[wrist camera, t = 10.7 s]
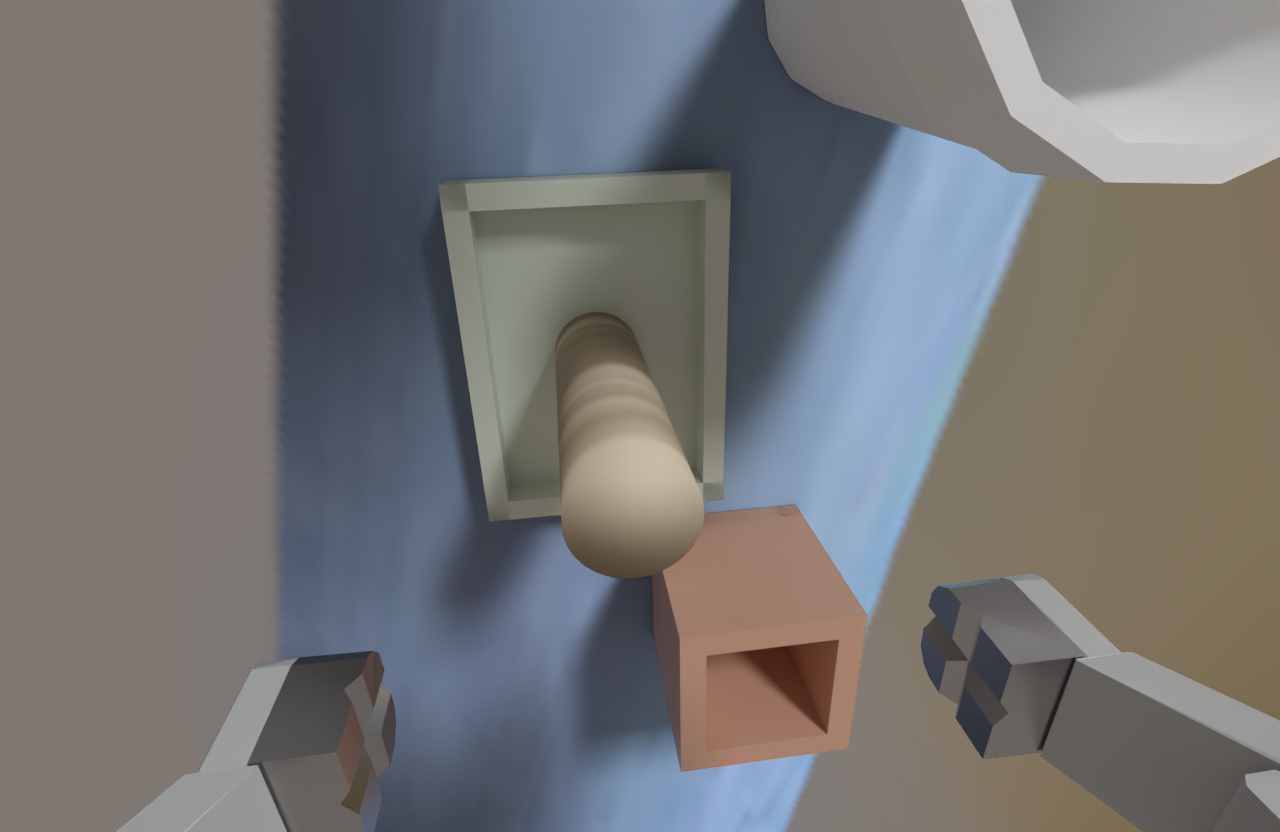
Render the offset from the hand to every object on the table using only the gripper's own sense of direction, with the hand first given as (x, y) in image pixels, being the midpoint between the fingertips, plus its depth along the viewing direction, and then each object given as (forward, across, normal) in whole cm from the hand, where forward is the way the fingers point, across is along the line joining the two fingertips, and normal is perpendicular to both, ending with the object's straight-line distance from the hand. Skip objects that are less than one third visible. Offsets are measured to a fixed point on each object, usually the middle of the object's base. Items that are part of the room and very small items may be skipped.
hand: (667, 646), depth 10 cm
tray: (+16, 0, +1) cm, 16 cm away
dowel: (+15, 0, +1) cm, 15 cm away
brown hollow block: (+15, -5, +12) cm, 20 cm away
